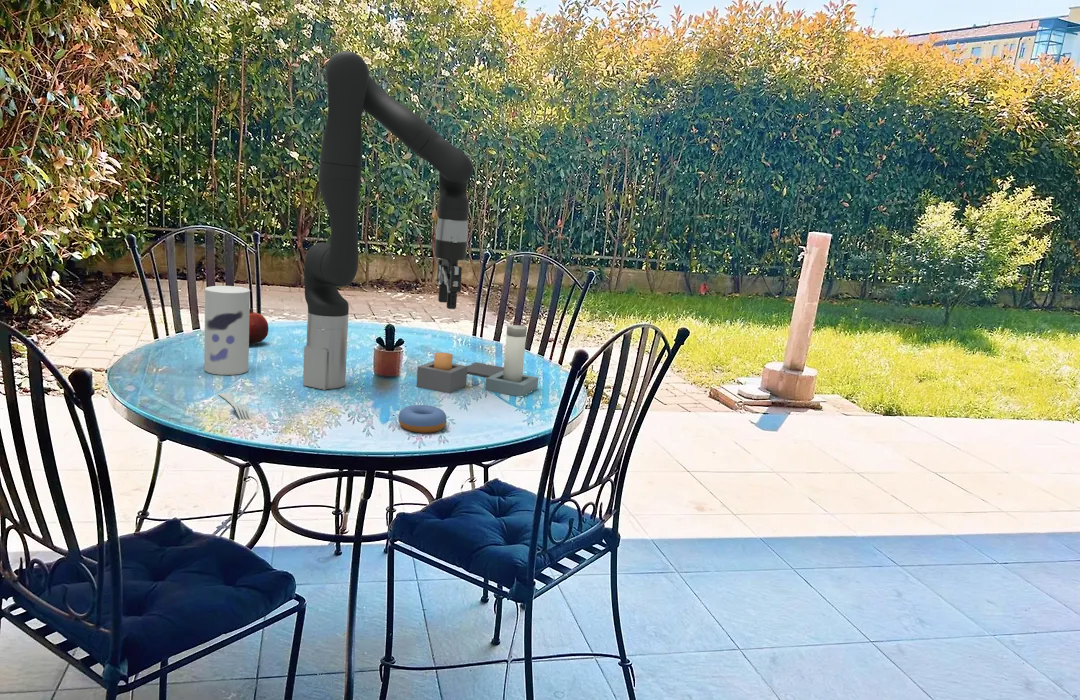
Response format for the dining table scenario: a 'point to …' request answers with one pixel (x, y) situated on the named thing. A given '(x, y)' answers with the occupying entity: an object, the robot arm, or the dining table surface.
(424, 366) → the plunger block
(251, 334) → the fruit
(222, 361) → the container
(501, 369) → the mat
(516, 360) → the cylinder
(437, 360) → the plunger
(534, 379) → the housing
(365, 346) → the dining table surface
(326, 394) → the dining table surface
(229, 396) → the fork
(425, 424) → the doughnut
